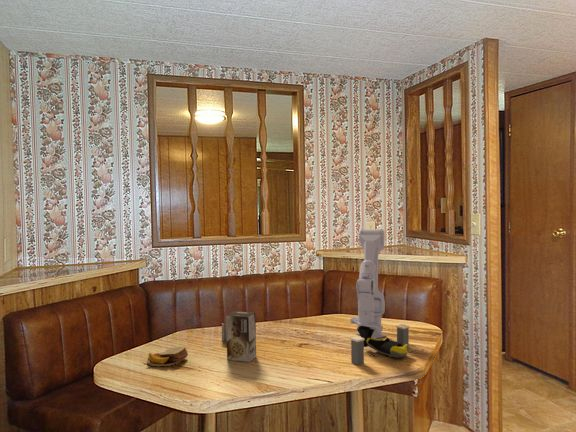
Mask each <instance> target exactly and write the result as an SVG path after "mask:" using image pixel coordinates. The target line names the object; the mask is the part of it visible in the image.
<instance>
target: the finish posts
mask: <svg viewBox="0 0 576 432" xmlns="http://www.w3.org/2000/svg"><path fill="white" fill-rule="evenodd" d="M395 328H396V342H398V343H400V344H401V345H402V346H403V344H407V345H408V346H407V350H409V346H410V345H409V334H410V333H409V328H410V325H407V324H403V323H401V324H398V325H395ZM364 340H365V338H362V337H361V336H360V335H359V336H358V335H356V336H353V337H350V347H351V348H350V350H351V352H350V354H351V355H350V356H351V357H350V358H351V364H353V365H356V366H359V365H362V364H365V357H364V356H365V352H364V351H365V350H364V349H365V347H364Z"/></svg>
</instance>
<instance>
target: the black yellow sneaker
mask: <svg viewBox="0 0 576 432" xmlns="http://www.w3.org/2000/svg"><path fill="white" fill-rule="evenodd" d="M366 343H367V344H368V347H369V348H370V349H372V350H374V351H376V352H378V353H380V354H381V355H383V356H389V357H390V358H392V357H393V358H395V359H397V358H400V359H403V358H405V356H407V355H408V349H407V346H408V345H407V344H403V346H402V345H401V344H400V343H398V342H397V341H395V340H393V339H392V340H391V338H389V337H386V338H384V339H379V338H376V339H374V338H367V341H366Z"/></svg>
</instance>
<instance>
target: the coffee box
mask: <svg viewBox="0 0 576 432" xmlns="http://www.w3.org/2000/svg"><path fill="white" fill-rule="evenodd" d="M256 322H257V321H256V312H254V311H253V312H251V311H238V310H237V311H236V310H233V311H231V312H229V313H228V314H226V315H225V324H226V333H227V342H226V360H227V361H235V362H243V363H244V362H246V363H251V362H252V361H253V360H254V359H255V358H257V331H256V330H257V329H256V327H257V324H256Z"/></svg>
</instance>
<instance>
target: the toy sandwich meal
mask: <svg viewBox="0 0 576 432" xmlns="http://www.w3.org/2000/svg"><path fill="white" fill-rule="evenodd" d="M188 353H189V352H188V350H187V349H186V346H175V347H169V348H167V349H166V350H165V351H163V352H160V353H157V352H156V353H148V357H147V360H146V362H147V364H149V365H150V366H151V365H153V366H152V367H154V366H169V367H171V365H173V366H175V364H176V365H178V364H180V363H181V362H182V361H183V360H185V359H186V358H187V357H188V355H189V354H188ZM179 362H180V363H179Z"/></svg>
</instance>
